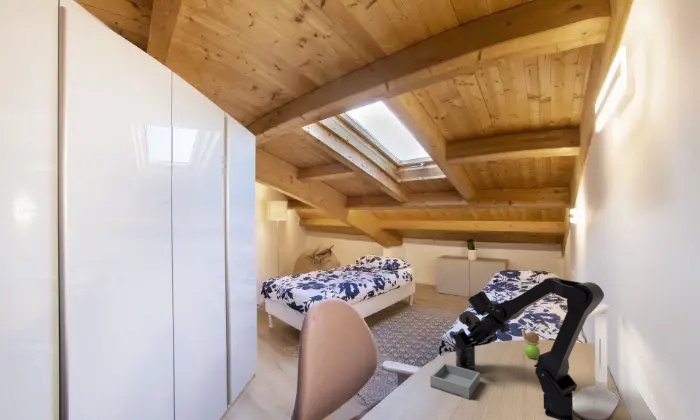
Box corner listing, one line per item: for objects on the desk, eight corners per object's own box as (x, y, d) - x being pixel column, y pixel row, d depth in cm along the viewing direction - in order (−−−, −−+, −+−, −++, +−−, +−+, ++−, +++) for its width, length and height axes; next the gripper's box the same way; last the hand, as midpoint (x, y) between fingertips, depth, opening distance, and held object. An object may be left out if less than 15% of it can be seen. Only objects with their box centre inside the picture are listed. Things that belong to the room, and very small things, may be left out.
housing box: (479, 383, 108) (479, 372, 108) (468, 399, 98) (468, 387, 98) (444, 372, 115) (444, 362, 115) (430, 386, 105) (430, 376, 105)
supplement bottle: (451, 366, 120) (451, 334, 120) (465, 363, 123) (465, 332, 123) (465, 374, 114) (465, 340, 114) (479, 371, 116) (479, 337, 117)
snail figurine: (522, 353, 132) (521, 324, 133) (540, 357, 129) (539, 327, 129) (521, 358, 127) (520, 328, 128) (540, 362, 124) (539, 330, 125)
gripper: (490, 302, 120) (466, 324, 129) (456, 309, 111) (433, 332, 120) (510, 330, 113) (483, 350, 122) (475, 340, 104) (449, 361, 113)
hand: (462, 347), depth 120 cm, fingers open, 9 cm apart
